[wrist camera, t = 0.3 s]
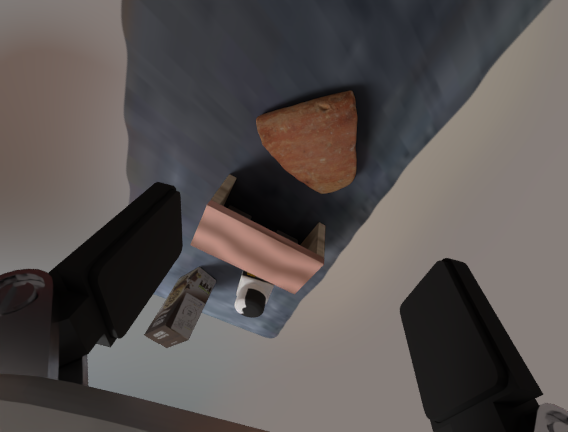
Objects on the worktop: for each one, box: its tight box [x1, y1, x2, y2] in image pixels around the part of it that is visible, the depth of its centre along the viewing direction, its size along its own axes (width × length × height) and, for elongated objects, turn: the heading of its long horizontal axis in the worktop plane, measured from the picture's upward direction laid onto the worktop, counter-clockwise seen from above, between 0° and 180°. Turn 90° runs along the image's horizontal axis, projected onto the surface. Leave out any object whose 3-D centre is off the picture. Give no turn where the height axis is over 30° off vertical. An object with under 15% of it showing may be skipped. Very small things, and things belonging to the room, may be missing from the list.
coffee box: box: [144, 267, 216, 348], centre depth 61 cm, size 9×6×16 cm
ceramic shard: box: [256, 91, 358, 194], centre depth 40 cm, size 15×6×15 cm
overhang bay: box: [191, 174, 325, 294], centre depth 47 cm, size 10×21×10 cm, turn 62°
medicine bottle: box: [235, 270, 274, 317], centre depth 56 cm, size 7×7×12 cm
